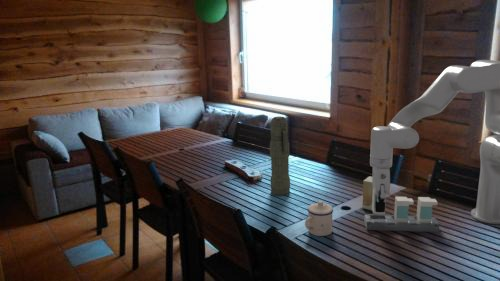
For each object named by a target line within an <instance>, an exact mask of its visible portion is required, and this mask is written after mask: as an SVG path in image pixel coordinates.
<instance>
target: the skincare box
mask: <svg viewBox="0 0 500 281" xmlns="http://www.w3.org/2000/svg"><path fill="white" fill-rule="evenodd" d="M362 182H363V183H362V209H365V210H369V211H372V196H373V186H372V176H367V177H366V178H365V179H363V181H362Z"/></svg>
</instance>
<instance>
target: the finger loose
mask: <svg viewBox="0 0 500 281" xmlns="http://www.w3.org/2000/svg"><path fill="white" fill-rule="evenodd" d="M378 193H380V192H378ZM391 194H392V192H391V190H390V194H389V195H391ZM387 195H388V194H386V192H385V203H387V202H386V198H387V197H386V196H387ZM389 195H388V196H389ZM380 196H381V195H379V197H380ZM376 201H377V194H376V193H375V191H374V188H373V196H372V210H371V211H372V214H383V215H386V211H385V212H376V211H375V208H376Z"/></svg>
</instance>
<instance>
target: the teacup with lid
mask: <svg viewBox="0 0 500 281" xmlns="http://www.w3.org/2000/svg"><path fill="white" fill-rule="evenodd" d="M307 212H308V216H307V218H305V222H304V226H305V228H306V229H307V230H308V232H309V234H311V235H313V236H316V237H325V236H326V237H327V236H328V235H329V236H330V235H331V234H332V232H333V213H334V209H333V206H331V205H330V204H327V203H324V201H323V200H318V201H317V202H316V203H312V204H309V206H308V208H307Z"/></svg>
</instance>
